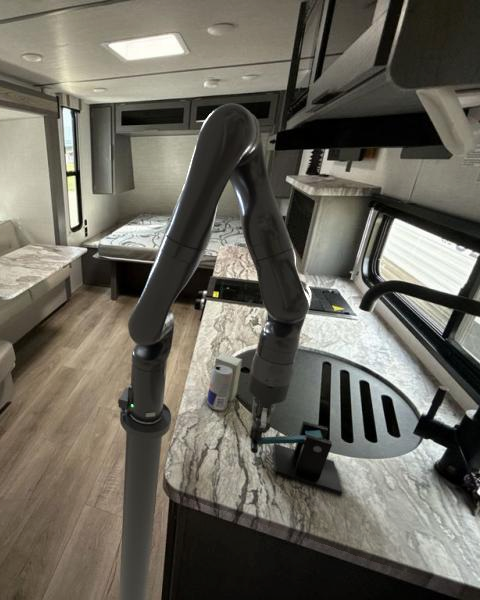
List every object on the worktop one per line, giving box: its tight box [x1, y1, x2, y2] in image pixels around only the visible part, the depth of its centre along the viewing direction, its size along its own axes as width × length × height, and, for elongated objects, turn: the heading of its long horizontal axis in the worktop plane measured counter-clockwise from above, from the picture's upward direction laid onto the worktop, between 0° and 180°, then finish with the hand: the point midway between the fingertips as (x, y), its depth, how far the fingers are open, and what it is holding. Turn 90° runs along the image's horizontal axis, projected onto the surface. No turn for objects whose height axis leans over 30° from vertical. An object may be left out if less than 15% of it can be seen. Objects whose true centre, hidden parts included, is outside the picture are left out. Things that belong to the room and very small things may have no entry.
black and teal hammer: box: [250, 430, 323, 454], centre depth 67 cm, size 14×6×2 cm, turn 68°
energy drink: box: [206, 363, 233, 411], centre depth 85 cm, size 5×5×12 cm
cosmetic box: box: [214, 352, 243, 402], centre depth 89 cm, size 6×4×12 cm
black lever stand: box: [272, 420, 343, 497], centre depth 66 cm, size 12×8×11 cm, turn 67°
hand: (254, 437), depth 70 cm, fingers closed
